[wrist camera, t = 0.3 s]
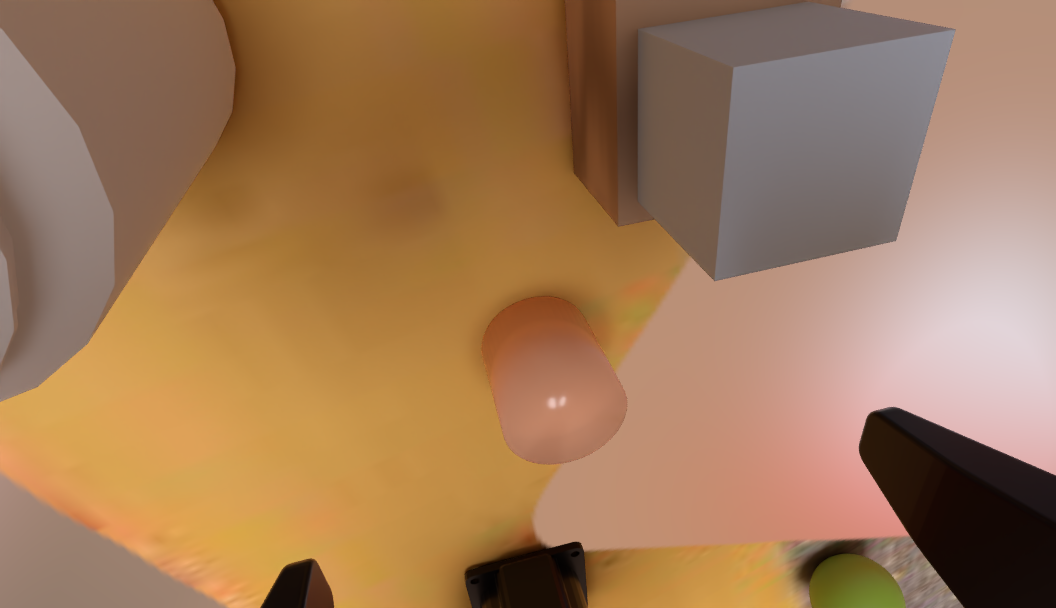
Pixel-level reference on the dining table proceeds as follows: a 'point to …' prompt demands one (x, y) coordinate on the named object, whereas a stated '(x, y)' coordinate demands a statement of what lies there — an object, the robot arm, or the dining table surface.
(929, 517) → the robot arm
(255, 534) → the dining table surface
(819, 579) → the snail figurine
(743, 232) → the slate cube
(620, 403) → the terracotta cylinder
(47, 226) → the can
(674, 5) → the walnut base block
